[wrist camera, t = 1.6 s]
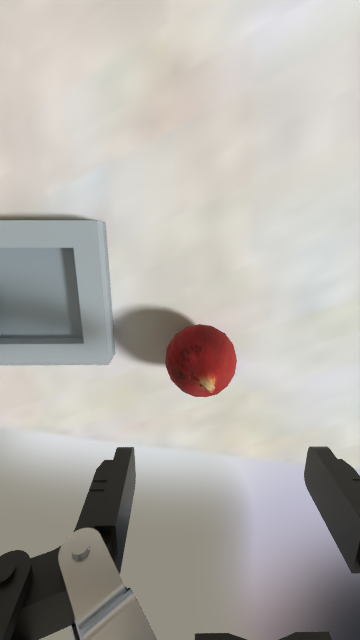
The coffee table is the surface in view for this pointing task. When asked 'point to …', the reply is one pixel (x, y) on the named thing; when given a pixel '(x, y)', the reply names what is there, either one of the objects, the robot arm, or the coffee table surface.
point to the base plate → (55, 293)
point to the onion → (201, 360)
